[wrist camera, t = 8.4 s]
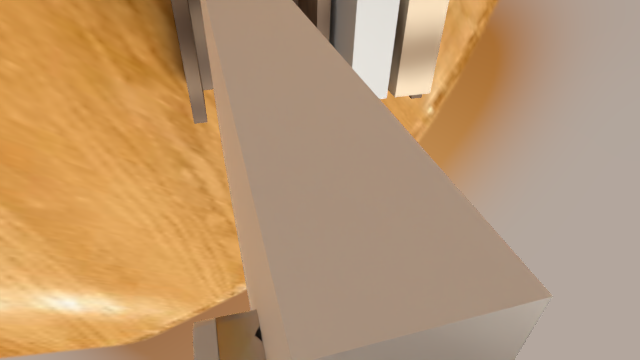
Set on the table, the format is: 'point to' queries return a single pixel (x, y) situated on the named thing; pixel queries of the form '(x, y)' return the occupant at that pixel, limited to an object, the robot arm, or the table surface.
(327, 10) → the walnut rack
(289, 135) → the white board
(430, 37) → the tan offcut
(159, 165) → the table surface
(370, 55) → the grey offcut
